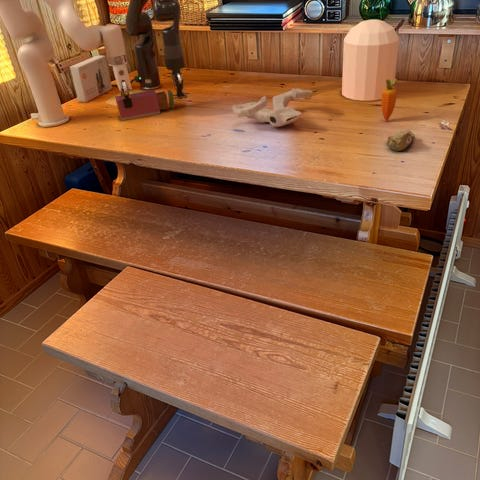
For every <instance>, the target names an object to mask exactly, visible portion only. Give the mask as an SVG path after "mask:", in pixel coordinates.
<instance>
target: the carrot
mask: <svg viewBox="0 0 480 480" xmlns="http://www.w3.org/2000/svg"><path fill="white" fill-rule="evenodd" d="M397 81H398V78H395V80H394V82H393V84H391V82H390V79H386V83H387V85H386V87H387V88H386V89H384V90H383V91H382V98H381V99H380V101H381V102H380V104H381V112H382V113H381V114H382V117H383V119H384V120H385V121H386V122H388V121H389V119H390V118H391V117H392V114H393V112H394V109H395V106H396V101H397V96H398V95H397V94H398V91H397V89H395V85H396V83H397ZM389 85H390V86H389ZM391 85H392V86H391ZM393 86H394V88H393Z"/></svg>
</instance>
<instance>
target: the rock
mask: <svg viewBox="0 0 480 480" xmlns="http://www.w3.org/2000/svg"><path fill="white" fill-rule="evenodd" d="M415 139H416V135H415V134H414V132H412V131H411V130H408V129H407V130H404V131H398V132H396V133H394V134H393V135H392V134H391V135H389V136H388V137H387V143H388V145H387V146H388V147H389V149H391V150H392V151H395V152H404V151H406V150H407V148H409V145H410V144H411V143H412V142H413V141H414V140H415Z"/></svg>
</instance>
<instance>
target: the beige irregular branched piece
mask: <svg viewBox="0 0 480 480" xmlns="http://www.w3.org/2000/svg"><path fill="white" fill-rule="evenodd" d="M313 93H314V92H313V91H312V90H307V89H302V88H292V89H291V90H289V91H286V92H283V93H281V94H277V95H275V96H272V102H271V103H272V107H273V109H272V110H271V109H266V108H265V107H267V106H268V98H267V96H266V95H264V96H262V97H261V98H260V99H259V100H258V101H257V102H256V101H251V102H246V103H240V104H234V105H232V106H231V107H232V108H231V109H232V112H233V113H234V115H235V116H237V118H244V117H246V118H248V119H252V120H257V122H259V123H269V124H270V126H272V127H274V128H280V127H284V126H287V125H290V124H294V123H296V121H298V120H301V119H302V112H301V111H300V110H297V109H295V108H294V107H291V106H288V105H289V103H290V102H292V101H299V100H308V101H310V100H311V99H312V97H313Z"/></svg>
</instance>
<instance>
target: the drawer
mask: <svg viewBox="0 0 480 480" xmlns="http://www.w3.org/2000/svg"><path fill="white" fill-rule="evenodd" d="M166 91H167V93H166ZM166 91H159V92H156V93H157V98H158V103H159V109H160V111H162V110H166V109H169V107H170V108H171V109H173V110H174V109H175V108H176V106H175V100H176V99H177V100H178V98H183V99H187V98H188V95H187V94H186V92H185V91H182V94H183V96H178V97H177V93H176V94H175V93H174V94H173V92H172V90H171V89H167V90H166Z"/></svg>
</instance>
